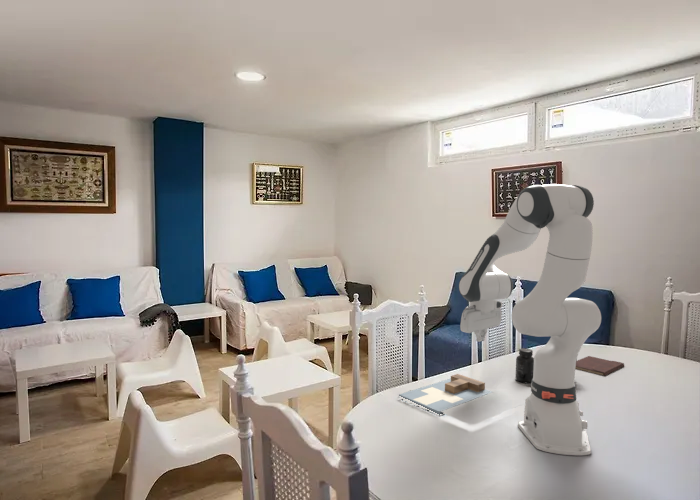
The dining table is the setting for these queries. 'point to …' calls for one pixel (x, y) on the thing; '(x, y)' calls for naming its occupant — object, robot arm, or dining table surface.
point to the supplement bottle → (524, 366)
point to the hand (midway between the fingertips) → (480, 341)
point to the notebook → (598, 365)
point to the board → (440, 396)
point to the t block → (463, 384)
